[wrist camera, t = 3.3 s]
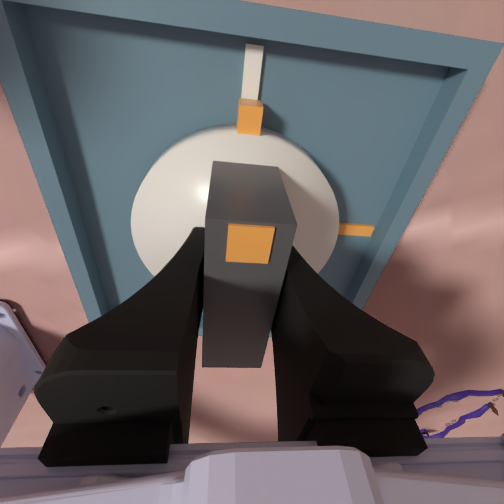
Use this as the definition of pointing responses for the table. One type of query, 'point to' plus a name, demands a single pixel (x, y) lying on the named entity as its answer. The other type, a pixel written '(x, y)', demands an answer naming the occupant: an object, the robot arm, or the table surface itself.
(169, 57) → the dial panel
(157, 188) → the knob
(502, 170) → the table surface
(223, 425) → the table surface
